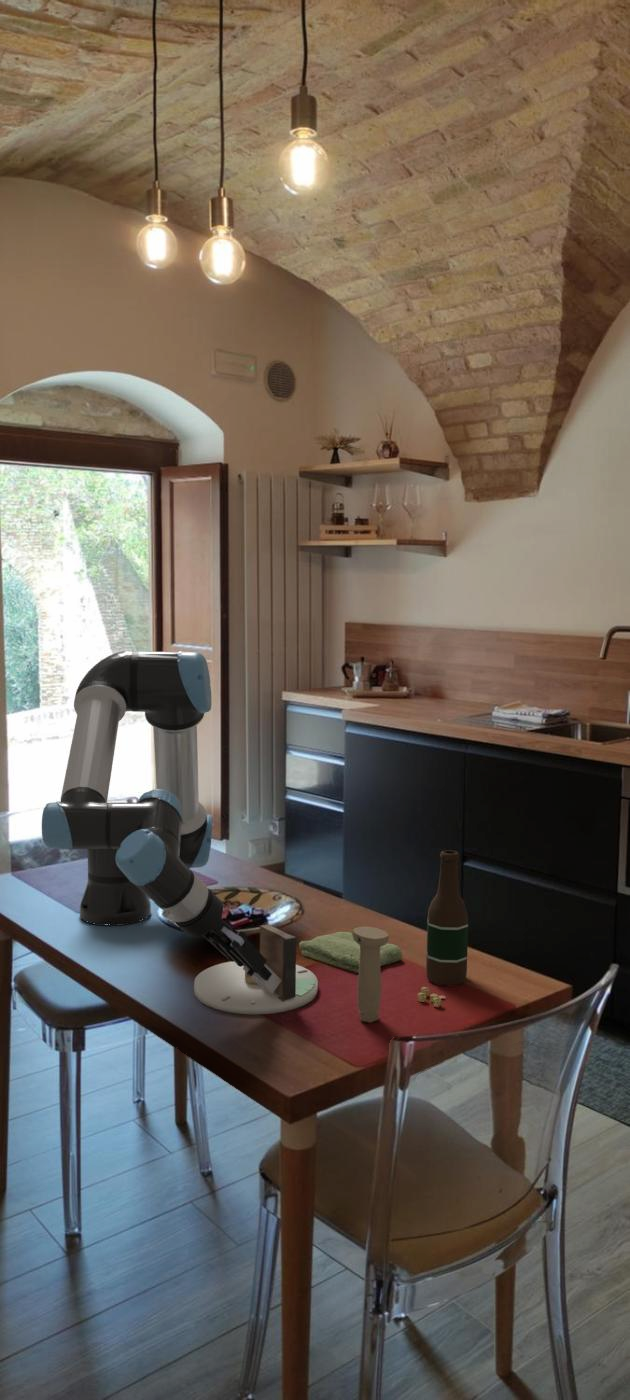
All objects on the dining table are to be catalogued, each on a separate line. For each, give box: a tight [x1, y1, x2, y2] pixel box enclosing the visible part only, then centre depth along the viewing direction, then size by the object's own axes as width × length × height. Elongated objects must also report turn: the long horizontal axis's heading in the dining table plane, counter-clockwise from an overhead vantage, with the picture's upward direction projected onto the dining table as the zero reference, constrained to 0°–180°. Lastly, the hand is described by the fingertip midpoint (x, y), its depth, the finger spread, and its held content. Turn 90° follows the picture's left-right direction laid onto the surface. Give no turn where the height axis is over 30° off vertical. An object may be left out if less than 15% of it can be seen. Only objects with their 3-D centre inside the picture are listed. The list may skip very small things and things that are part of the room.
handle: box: [352, 925, 390, 1024], centre depth 175 cm, size 5×6×15 cm
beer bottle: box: [425, 849, 469, 986], centre depth 193 cm, size 8×8×24 cm
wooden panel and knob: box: [245, 923, 297, 1000], centre depth 184 cm, size 13×4×11 cm, turn 36°
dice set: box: [417, 986, 446, 1007], centre depth 184 cm, size 5×5×2 cm
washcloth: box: [298, 931, 403, 974], centre depth 206 cm, size 13×18×3 cm
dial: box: [193, 961, 319, 1015], centre depth 188 cm, size 22×22×2 cm
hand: (272, 984), depth 180 cm, fingers closed
